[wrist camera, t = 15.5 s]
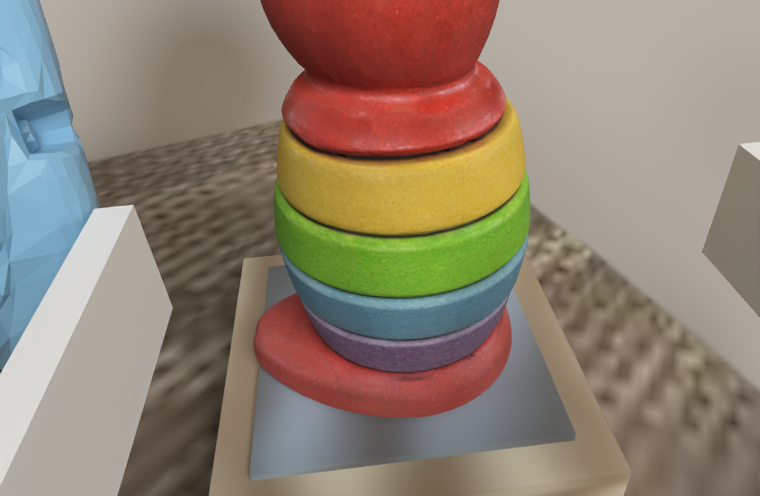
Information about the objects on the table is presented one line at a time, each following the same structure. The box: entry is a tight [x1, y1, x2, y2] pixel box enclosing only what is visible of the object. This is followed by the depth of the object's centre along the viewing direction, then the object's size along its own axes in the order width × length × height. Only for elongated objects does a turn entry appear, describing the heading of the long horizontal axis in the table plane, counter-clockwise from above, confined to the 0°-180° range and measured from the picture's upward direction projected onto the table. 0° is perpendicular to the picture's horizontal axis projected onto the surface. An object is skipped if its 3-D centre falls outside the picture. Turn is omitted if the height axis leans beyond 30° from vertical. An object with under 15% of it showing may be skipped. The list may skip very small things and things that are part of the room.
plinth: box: [209, 254, 632, 496], centre depth 27 cm, size 15×15×4 cm
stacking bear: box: [254, 0, 530, 418], centre depth 21 cm, size 11×10×18 cm
